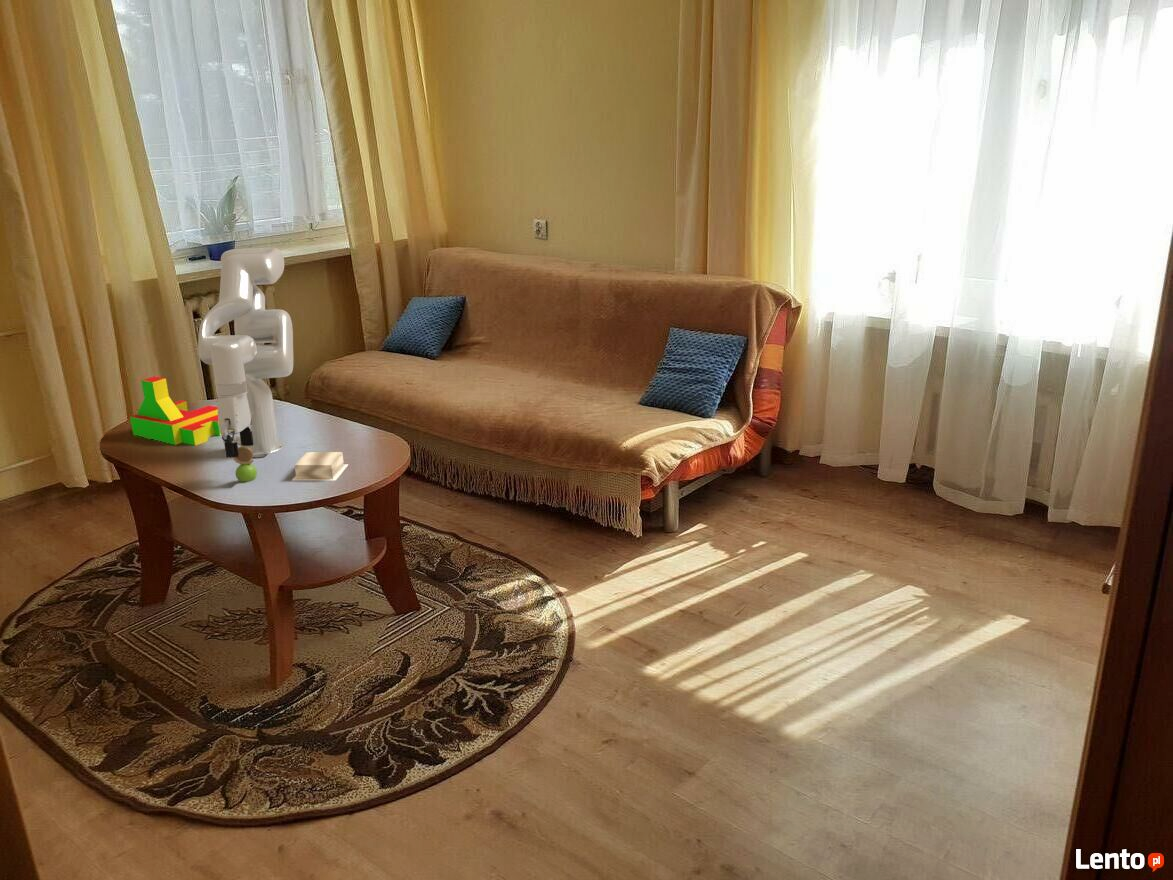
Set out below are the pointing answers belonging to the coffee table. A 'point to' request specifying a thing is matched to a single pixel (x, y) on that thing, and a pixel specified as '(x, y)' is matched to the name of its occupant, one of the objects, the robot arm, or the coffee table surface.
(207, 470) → the coffee table surface
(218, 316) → the robot arm
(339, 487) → the coffee table surface
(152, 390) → the building blocks toy
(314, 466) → the pedestal block
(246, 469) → the snail figurine
